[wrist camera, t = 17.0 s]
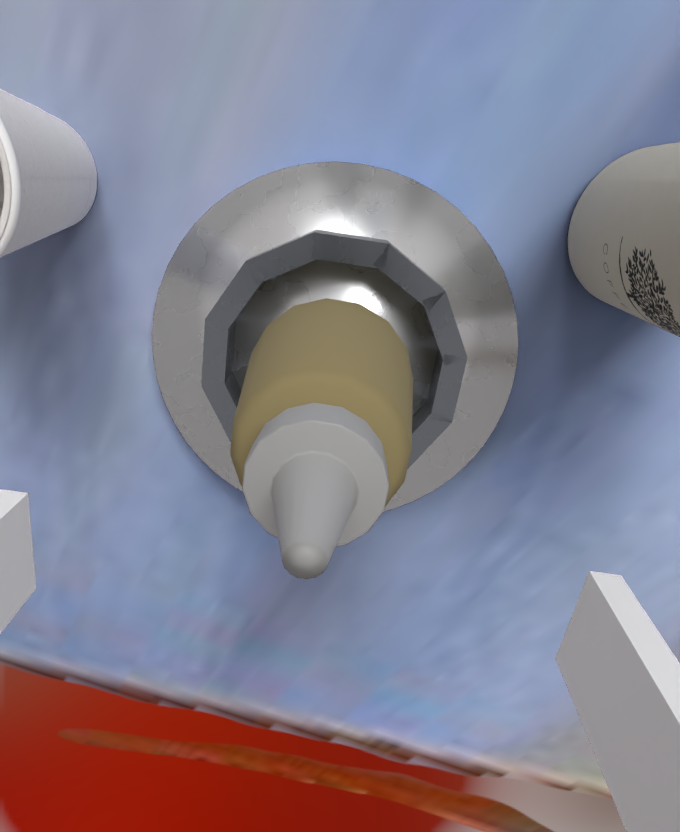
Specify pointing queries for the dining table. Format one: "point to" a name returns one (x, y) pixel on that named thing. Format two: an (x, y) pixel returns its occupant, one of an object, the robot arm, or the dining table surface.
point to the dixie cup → (40, 174)
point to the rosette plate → (347, 281)
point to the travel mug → (632, 235)
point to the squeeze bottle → (323, 428)
